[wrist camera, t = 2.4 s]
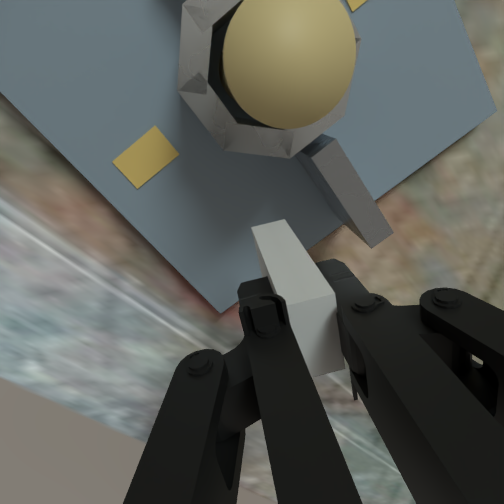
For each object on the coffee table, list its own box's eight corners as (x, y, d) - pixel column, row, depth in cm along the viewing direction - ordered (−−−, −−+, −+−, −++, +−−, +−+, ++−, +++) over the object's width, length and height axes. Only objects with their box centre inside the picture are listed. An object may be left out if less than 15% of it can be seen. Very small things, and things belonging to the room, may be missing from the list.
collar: (107, -5, 18) (79, -36, 13) (229, -118, 17) (242, -192, 12) (300, 246, 25) (324, 281, 20) (395, 176, 24) (443, 197, 19)
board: (-61, 19, 19) (-310, -48, 9) (300, -341, 16) (457, -961, 6) (219, 304, 27) (233, 415, 18) (483, 109, 24) (660, 123, 15)
